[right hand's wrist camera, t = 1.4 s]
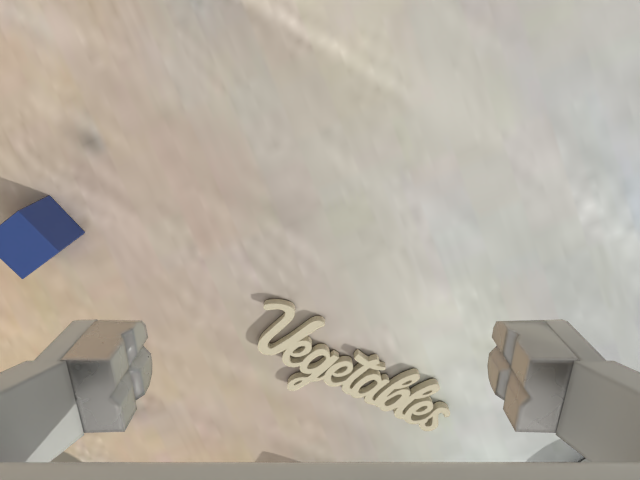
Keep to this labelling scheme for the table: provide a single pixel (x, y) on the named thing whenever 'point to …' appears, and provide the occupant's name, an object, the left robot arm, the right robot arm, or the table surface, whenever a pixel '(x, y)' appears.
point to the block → (36, 235)
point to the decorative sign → (350, 371)
